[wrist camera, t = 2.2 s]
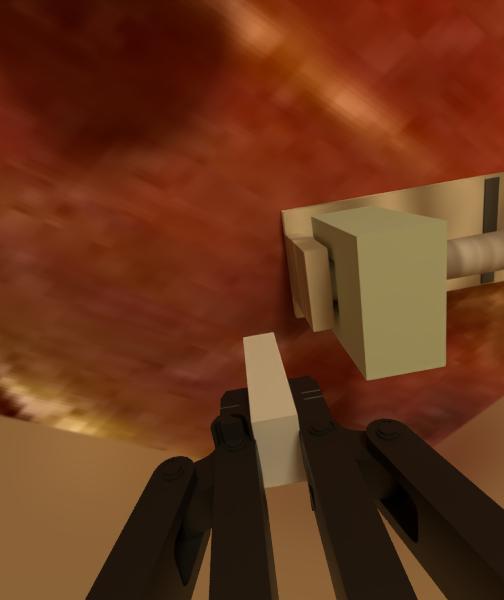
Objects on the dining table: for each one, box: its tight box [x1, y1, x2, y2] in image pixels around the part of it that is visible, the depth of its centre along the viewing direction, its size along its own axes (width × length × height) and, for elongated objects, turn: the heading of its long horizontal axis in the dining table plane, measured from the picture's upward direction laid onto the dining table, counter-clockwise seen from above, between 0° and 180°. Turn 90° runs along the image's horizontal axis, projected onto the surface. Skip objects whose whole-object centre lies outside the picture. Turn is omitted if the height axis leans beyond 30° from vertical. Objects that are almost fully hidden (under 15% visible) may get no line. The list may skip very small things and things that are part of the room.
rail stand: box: [281, 172, 504, 332], centre depth 30 cm, size 23×10×9 cm, turn 99°
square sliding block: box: [311, 206, 447, 380], centre depth 26 cm, size 5×9×11 cm, turn 9°
